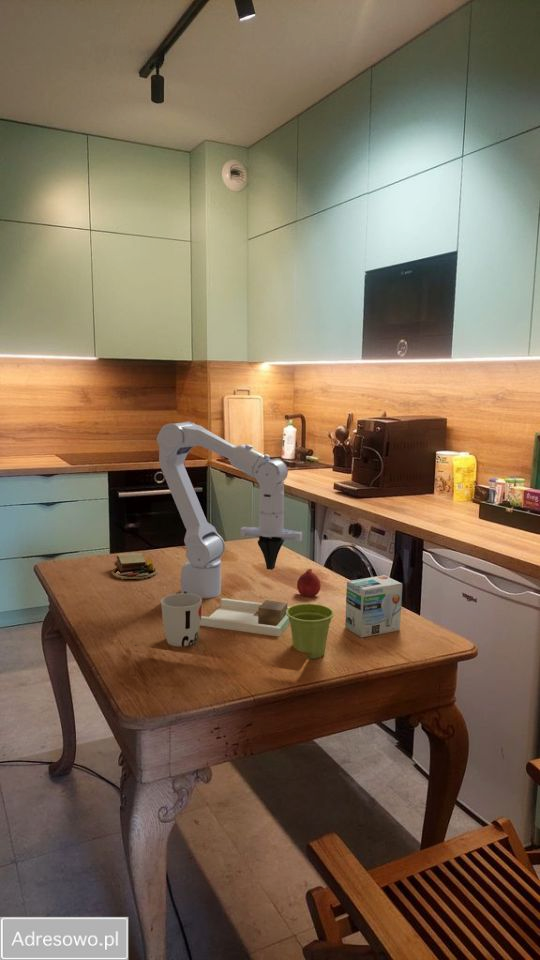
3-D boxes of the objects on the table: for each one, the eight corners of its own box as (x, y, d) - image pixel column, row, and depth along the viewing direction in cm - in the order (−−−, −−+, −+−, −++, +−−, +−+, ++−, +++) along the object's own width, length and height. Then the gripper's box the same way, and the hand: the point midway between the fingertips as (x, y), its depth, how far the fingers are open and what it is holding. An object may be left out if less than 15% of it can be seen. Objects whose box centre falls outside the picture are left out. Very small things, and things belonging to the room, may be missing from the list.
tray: (199, 631, 138) (199, 617, 138) (222, 611, 150) (222, 598, 150) (279, 643, 133) (279, 628, 132) (296, 621, 145) (296, 607, 144)
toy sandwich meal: (112, 583, 170) (111, 566, 170) (111, 568, 183) (110, 552, 183) (159, 580, 174) (159, 563, 173) (155, 566, 186) (155, 550, 186)
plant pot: (298, 666, 122) (299, 623, 121) (277, 647, 131) (278, 606, 129) (341, 658, 126) (342, 616, 124) (318, 640, 134) (319, 601, 133)
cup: (184, 659, 125) (184, 610, 123) (153, 649, 129) (152, 601, 127) (210, 644, 131) (210, 598, 130) (179, 636, 136) (179, 590, 134)
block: (258, 625, 138) (258, 607, 137) (265, 617, 143) (265, 600, 142) (280, 628, 137) (280, 610, 136) (286, 620, 141) (287, 602, 141)
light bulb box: (361, 638, 136) (363, 589, 134) (343, 627, 142) (345, 580, 140) (401, 630, 141) (403, 582, 139) (382, 619, 146) (384, 574, 145)
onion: (318, 604, 155) (319, 573, 154) (295, 602, 156) (295, 571, 155) (321, 596, 161) (322, 566, 160) (298, 595, 162) (299, 564, 161)
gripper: (236, 512, 147) (235, 569, 149) (296, 517, 143) (295, 576, 145) (246, 506, 154) (246, 561, 156) (305, 511, 149) (303, 567, 151)
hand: (270, 568), depth 151 cm, fingers closed
